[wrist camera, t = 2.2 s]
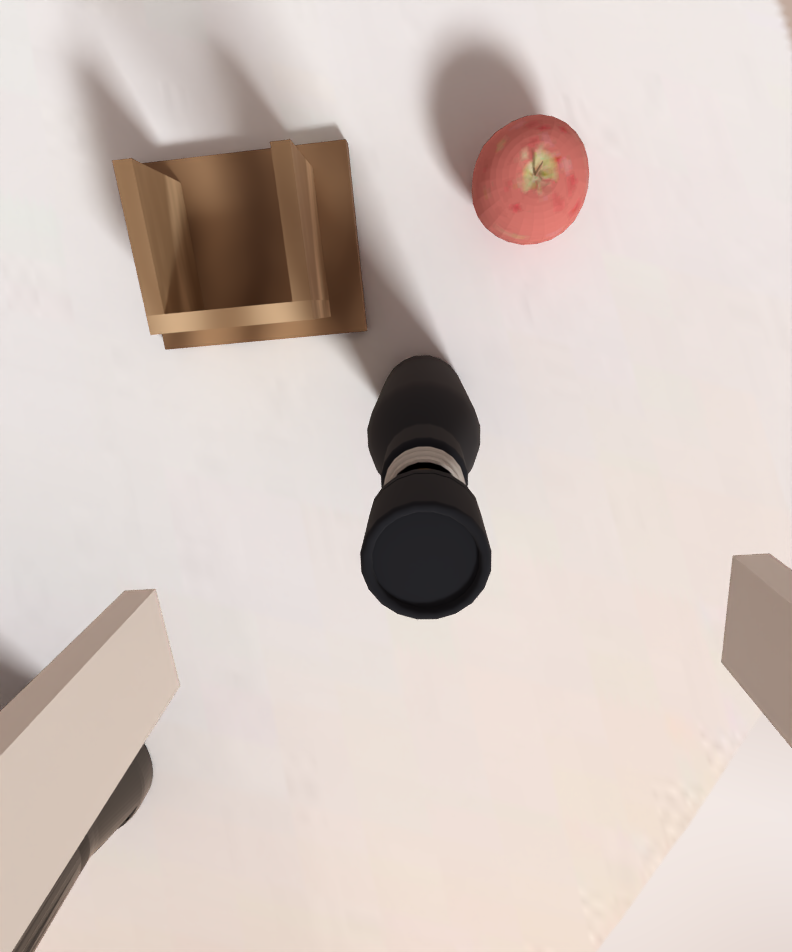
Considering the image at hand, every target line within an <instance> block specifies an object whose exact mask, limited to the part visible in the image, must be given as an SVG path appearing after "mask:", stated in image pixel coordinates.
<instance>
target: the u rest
mask: <svg viewBox="0 0 792 952" xmlns="http://www.w3.org/2000/svg"><path fill="white" fill-rule="evenodd" d="M270 145H271V148H268V149H260V150H251V151H243V152H234V153H226V154H217V155H209V156H200V157H192V158H183V159H175V160H166V161H158V162H149V163H140V162H138V161H136V160H134V159H132V158H129V159H121V160H112V162H113V167H114V171H115V176H116V180H117V185H118V189H119V194H120V198H121V203H122V207H123V212H124V216H125V221H126V225H127V230H128V235H129V239H130V244H131V248H132V253H133V257H134V262H135V266H136V271H137V275H138V280H139V284H140V289H141V293H142V298H143V302H144V307H145V312H146V316H147V321H148V325H149V330H150V334H151V335H155V334H162V336H163V341H164V345H165V350H166V349H177V348H188V347H199V346H210V345H220V344H231V343H242V342H253V341H264V340H274V339H285V338H296V337H307V336H318V335H329V334H339V333H350V332H361V331H367V323H366V313H365V304H364V294H363V284H362V275H361V265H360V255H359V246H358V236H357V226H356V217H355V207H354V197H353V188H352V178H351V168H350V159H349V149H348V143H347V141H346V139H345V140H336V141H328V142H319V143H311V144H302V145H294V144H293V142H292V141H291V140H290V139H289V140H281V141H272V142H270Z"/></svg>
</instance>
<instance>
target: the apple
mask: <svg viewBox="0 0 792 952" xmlns="http://www.w3.org/2000/svg"><path fill="white" fill-rule="evenodd" d="M588 180H589V167H588V158H587V154H586V151H585V147H584V144H583V142H582V141H581V139H580V138H579V136H578V134H577V133H576V132H575V131H574V130H573V129H572V128H571V127H570V126H569V125H568V124H567V123H566V122H563V121H561V120H559V119H557V118H555V117H552V116H546V115H540V114H539V115H531V116H525V117H523V118H520V119H517V120H515V121H512V122H511V123H509V124H508V125H506V126H505V127H503V128H502V129H500V130H499V131H497V132H496V133H495V134H494V135H493V136H492V137H491V138H490V139H489V140H488V141H487V143H486V144H485V145H484V146H483V148H482V150H481V152H480V154H479V157H478V159H477V161H476V165H475V168H474V172H473V180H472V198H473V205H474V208H475V211H476V213H477V216H478V218H479V219H480V221H481V222H482V223H483V225H484V226H485V228H487V229H488V230H489V231H490V232H492V233H493V234H494V235H495V236H497V237H499V238H501V239H503V240H505V241H508V242H512V243H516V244H521V245H525V244H538V243H541V242H544V241H548V240H551V239H553V238H554V237H556V236H558V235H559V234H561V233H563V232H564V231H565V230H566V229H567V228H568V227H569V226H570V225H571V224H572V223H573V221H574V220H575V218H576V217H577V215H578V213H579V211H580V209H581V208H582V206H583V203H584V200H585V196H586V193H587V189H588Z"/></svg>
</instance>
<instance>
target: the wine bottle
mask: <svg viewBox="0 0 792 952" xmlns="http://www.w3.org/2000/svg"><path fill="white" fill-rule="evenodd" d="M367 432H368V447H369V451H370V454H371V457H372V459H373V462H374V464H375V467H376V469H377V471H378V473H379V474H380V475H381V485H382V489H381V490H380V492H379V493H378V494H377V496H376V497H375V499H374V502H373V505H372V508H371V512H370V515H369V520H368V524H367V528H366V532H365V536H364V540H363V544H362V548H361V552H360V556H361V571H362V574H363V577H364V579H365V582H366V584H367V586H368V589H369V590H370V591H371V592H372V594H373V595H374V596H375V597H376V598H377V599H378V600H379V602H380V603H381V604H383V605H384V606H386V607H388V608H389V609H391V610H392V611H394V612H396V613H397V614H400V615H404V616H407V617H411V618H415V619H439V618H442V617H446V616H449V615H452V614H456V613H457V612H459V611H460V610H462V609H463V608H465V607H467V606H468V605H470V604H471V603H472V602H473V601H474V600H475V599H476V598H477V596H478V595H479V594H480V593H481V592H482V590H483V589H484V588H485V585H486V582H487V580H488V577H489V574H490V572H491V548H490V545H489V541H488V538H487V534H486V530H485V527H484V523H483V520H482V516H481V513H480V510H479V507H478V504H477V501H476V498H475V496H474V495H473V494H472V492H471V491H470V490H469V489H468V487H467V485H468V473H469V472H470V471H471V469H472V467H473V464H474V462H475V459H476V456H477V453H478V450H479V446H480V424H479V421H478V418H477V415H476V412H475V409H474V407H473V405H472V403H471V401H470V399H469V397H468V395H467V393H466V391H465V389H464V387H463V385H462V383H461V381H460V379H459V377H458V375H457V374H456V373H455V371H454V370H453V369H452V367H451V366H450V365H448V364H447V363H445V362H444V361H442V360H441V359H438V358H435V357H432V356H414V357H412V358H409V359H406V360H404V361H402V362H401V363H400V364H399V365H397V366H396V367H395V368H394V369H393V371H392V372H391V374H390V375H389V377H388V378H387V380H386V382H385V385H384V387H383V389H382V391H381V394H380V396H379V398H378V400H377V403H376V405H375V407H374V409H373V411H372V414H371V418H370V422H369V425H368V429H367Z"/></svg>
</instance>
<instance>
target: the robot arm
mask: <svg viewBox="0 0 792 952" xmlns="http://www.w3.org/2000/svg"><path fill="white" fill-rule="evenodd" d="M721 662H722V664H723V665H724V666H725V667H726V669H727V670H728V671H729V672H730V673H731V675H732V676H733V677H734V678H735V679H736V681H737V682H738V683H739V684H740V686H741V687H742V688H743V689H744V690H745V692H746V693H747V694H748V695H749V697H750V698H751V699H752V700H753V701H754V703H755V704H756V705H757V706H758V708H759V709H760V710H761V711H762V712H763V714H764V715H765V716H766V717H767V718H768V720H769V721H770V722H771V723H772V725H773V726H774V727H775V728H776V730H777V731H778V732H779V733H780V734H781V736H782V737H783V738H784V739H785V740H786V742H787V743H788V744H789V745H790V747H791V748H792V570H791V569H790V568H788V567H787V566H786V565H784V564H783V563H782V562H780V561H779V560H778V559H776V558H775V557H774V556H772V555H771V554H752V555H735V556H733V558H732V567H731V577H730V586H729V595H728V604H727V614H726V623H725V632H724V641H723V651H722V660H721ZM179 687H180V683H179V679H178V675H177V671H176V667H175V663H174V659H173V655H172V651H171V647H170V644H169V640H168V636H167V632H166V628H165V624H164V620H163V616H162V612H161V608H160V604H159V600H158V596H157V593H156V589H146V590H129V591H124V592H123V593H122V594H121V595H120V596H119V597H118V598H117V599H116V600H115V601H114V602H113V603H111V604H110V605H109V606H108V607H107V608H106V609H105V610H104V611H103V612H102V613H101V614H100V615H99V616H98V617H97V618H96V619H95V620H94V621H93V622H92V623H91V624H90V625H89V626H88V627H87V628H86V629H85V630H84V631H83V632H82V633H81V634H80V635H78V636H77V637H76V638H75V639H74V640H73V641H72V642H71V643H70V644H69V645H68V646H67V647H66V648H65V649H64V650H63V651H62V652H61V653H60V654H59V655H58V656H57V657H56V658H55V659H54V660H53V661H52V662H51V663H50V664H49V665H48V666H47V667H46V668H44V669H43V670H42V671H41V672H40V673H39V674H38V675H37V676H36V677H35V678H34V679H33V680H32V681H31V682H30V683H29V684H28V685H27V686H26V687H25V688H24V689H23V690H22V691H21V692H20V693H19V694H18V695H17V696H16V697H15V698H14V699H13V700H11V701H10V702H9V703H8V704H7V705H6V706H5V707H4V708H3V709H2V710H1V711H0V952H34V951H35V950H36V948H37V946H38V945H39V943H40V941H41V939H42V938H43V936H44V934H45V933H46V931H47V929H48V927H49V926H50V924H51V922H52V921H53V919H54V917H55V916H56V914H57V912H58V910H59V909H60V907H61V905H62V904H63V902H64V900H65V899H66V897H67V895H68V893H69V892H70V890H71V888H72V887H73V885H74V883H75V881H76V880H77V878H78V876H79V875H80V873H81V871H82V870H83V868H84V866H85V865H86V863H87V861H88V860H89V858H90V857H91V856H92V855H93V854H94V853H95V852H96V851H97V850H98V849H99V848H100V847H101V846H102V845H103V844H104V843H105V842H106V841H107V840H108V838H109V837H110V836H111V835H112V834H113V833H114V832H115V831H116V830H117V829H118V828H120V827H121V826H123V825H124V824H125V823H126V822H127V821H129V820H130V819H131V818H132V817H133V815H134V814H135V813H136V811H137V810H138V809H139V807H140V805H141V803H142V802H143V800H144V798H145V796H146V795H147V793H148V791H149V789H150V786H151V783H152V778H153V768H152V762H151V758H150V755H149V753H148V751H147V749H146V747H145V745H144V742H145V741H146V739H147V737H148V736H149V734H150V733H151V731H152V730H153V728H154V726H155V725H156V723H157V722H158V720H159V718H160V717H161V715H162V714H163V712H164V711H165V709H166V707H167V706H168V704H169V703H170V701H171V700H172V698H173V696H174V695H175V693H176V692H177V690H178V688H179Z"/></svg>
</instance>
